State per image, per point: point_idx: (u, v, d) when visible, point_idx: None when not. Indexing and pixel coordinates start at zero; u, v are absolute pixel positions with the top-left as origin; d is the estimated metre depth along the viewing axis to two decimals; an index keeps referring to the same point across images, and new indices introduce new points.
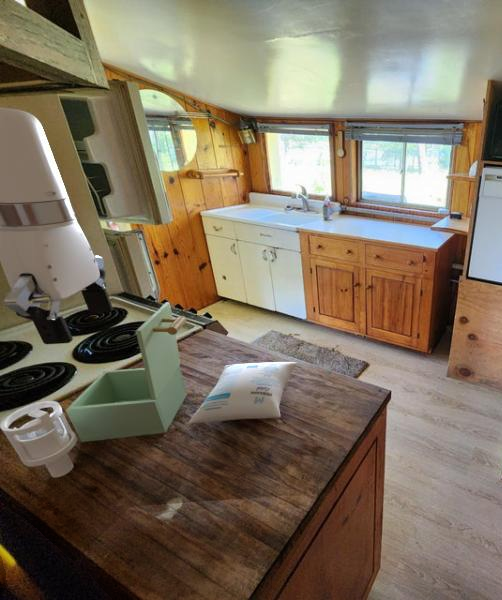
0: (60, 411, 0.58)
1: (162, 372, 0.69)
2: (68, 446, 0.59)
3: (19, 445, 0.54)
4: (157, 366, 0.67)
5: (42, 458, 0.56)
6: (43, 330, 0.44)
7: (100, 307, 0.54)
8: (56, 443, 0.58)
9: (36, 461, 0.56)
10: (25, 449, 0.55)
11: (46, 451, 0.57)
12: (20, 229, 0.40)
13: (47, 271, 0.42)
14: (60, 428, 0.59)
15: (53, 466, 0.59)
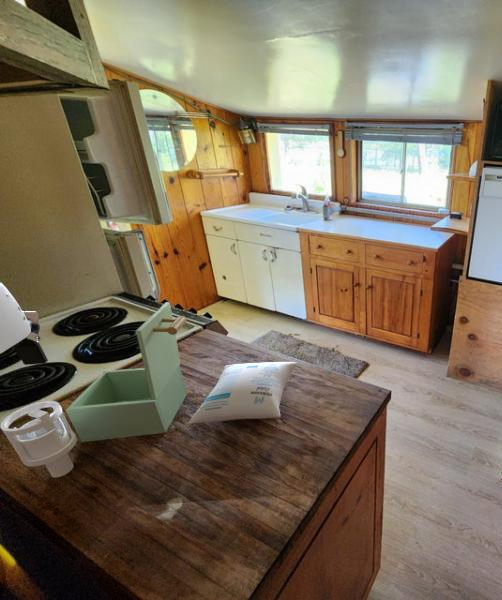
0: (60, 411, 0.58)
1: (162, 372, 0.69)
2: (68, 446, 0.59)
3: (19, 445, 0.54)
4: (157, 366, 0.67)
5: (42, 458, 0.56)
6: None
7: (34, 359, 0.56)
8: (56, 443, 0.58)
9: (36, 461, 0.56)
10: (25, 449, 0.55)
11: (46, 451, 0.57)
12: None
13: None
14: (60, 428, 0.59)
15: (53, 466, 0.59)
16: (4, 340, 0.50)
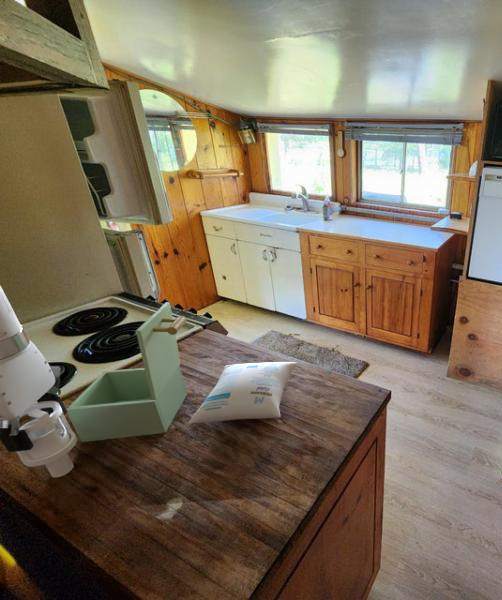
0: (60, 411, 0.58)
1: (162, 372, 0.69)
2: (68, 446, 0.59)
3: None
4: (157, 366, 0.67)
5: (42, 458, 0.56)
6: (6, 443, 0.52)
7: None
8: (56, 443, 0.58)
9: (36, 461, 0.56)
10: None
11: (46, 451, 0.57)
12: None
13: (1, 398, 0.49)
14: (60, 428, 0.59)
15: (53, 466, 0.59)
16: (33, 394, 0.54)
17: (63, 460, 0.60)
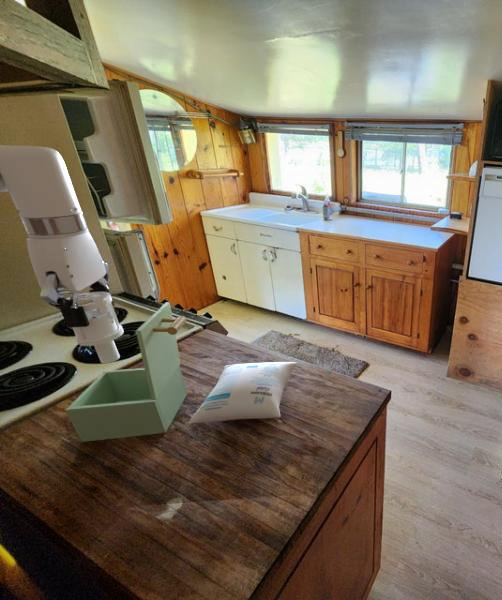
0: (111, 299, 0.63)
1: (162, 372, 0.69)
2: (117, 333, 0.65)
3: None
4: (157, 366, 0.67)
5: (95, 339, 0.62)
6: (67, 316, 0.58)
7: None
8: (107, 328, 0.64)
9: (90, 341, 0.62)
10: (81, 329, 0.61)
11: (98, 334, 0.63)
12: (46, 237, 0.53)
13: (66, 269, 0.55)
14: (109, 317, 0.65)
15: (103, 351, 0.65)
16: (89, 276, 0.60)
17: (112, 347, 0.66)
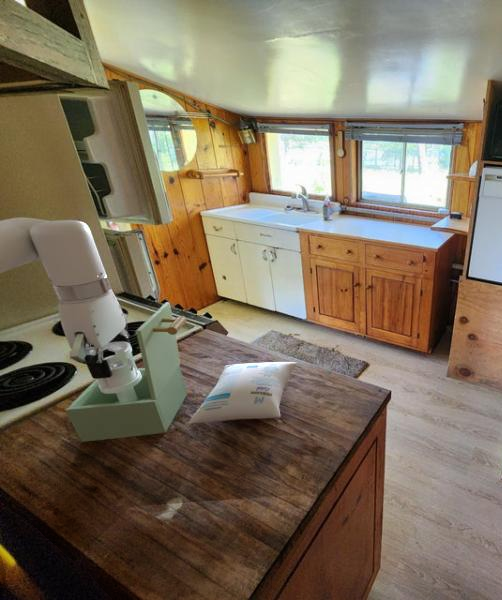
0: (131, 349, 0.69)
1: (162, 372, 0.69)
2: (136, 379, 0.70)
3: None
4: (157, 366, 0.67)
5: (117, 387, 0.67)
6: (93, 369, 0.63)
7: None
8: (128, 376, 0.69)
9: (113, 389, 0.67)
10: (104, 378, 0.66)
11: (120, 382, 0.68)
12: (75, 302, 0.58)
13: (93, 329, 0.60)
14: (129, 365, 0.70)
15: (123, 396, 0.70)
16: (112, 331, 0.65)
17: (131, 392, 0.71)
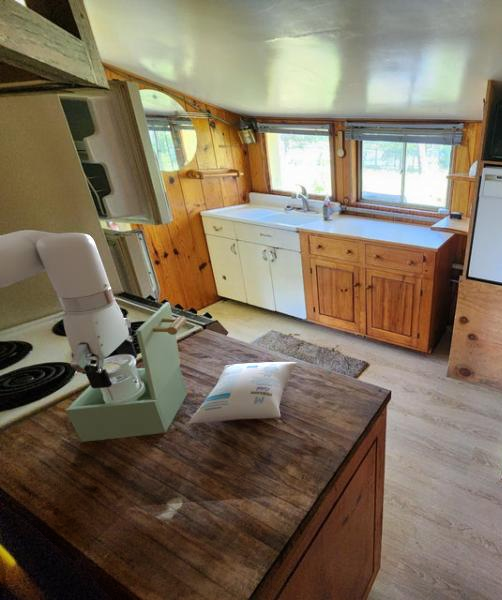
0: (135, 362, 0.70)
1: (162, 372, 0.69)
2: (140, 391, 0.71)
3: None
4: (157, 366, 0.67)
5: (122, 399, 0.69)
6: (92, 379, 0.63)
7: None
8: (132, 388, 0.70)
9: (117, 401, 0.68)
10: (109, 391, 0.68)
11: (124, 394, 0.69)
12: (80, 313, 0.59)
13: (97, 340, 0.61)
14: (133, 377, 0.72)
15: None
16: (115, 341, 0.66)
17: None
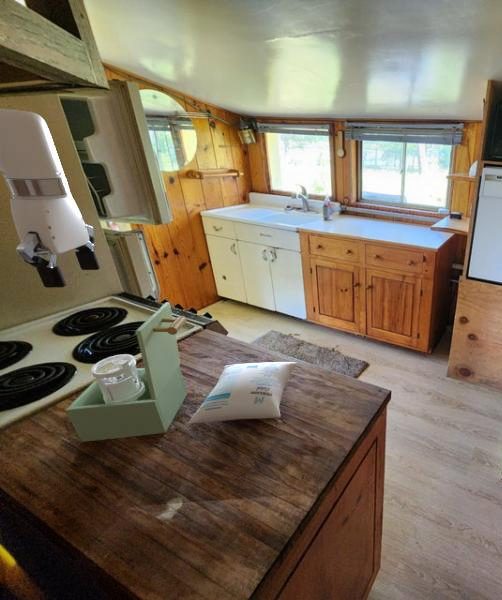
0: (135, 362, 0.70)
1: (162, 372, 0.69)
2: (140, 391, 0.71)
3: (105, 387, 0.67)
4: (157, 366, 0.67)
5: (122, 399, 0.69)
6: (44, 275, 0.59)
7: (89, 265, 0.69)
8: (132, 388, 0.70)
9: (117, 401, 0.68)
10: (109, 391, 0.68)
11: (124, 394, 0.69)
12: (28, 198, 0.55)
13: (47, 230, 0.57)
14: (133, 377, 0.72)
15: None
16: (72, 240, 0.62)
17: None
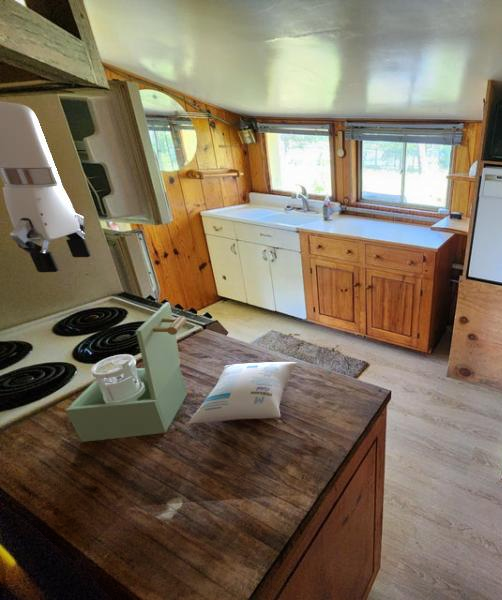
0: (135, 362, 0.70)
1: (162, 372, 0.69)
2: (140, 392, 0.71)
3: (105, 387, 0.67)
4: (157, 366, 0.67)
5: (122, 399, 0.69)
6: (37, 260, 0.62)
7: (80, 253, 0.72)
8: (132, 388, 0.70)
9: (117, 401, 0.68)
10: (109, 391, 0.68)
11: (124, 394, 0.69)
12: (21, 186, 0.59)
13: (40, 217, 0.60)
14: (133, 377, 0.72)
15: None
16: (63, 227, 0.65)
17: None
